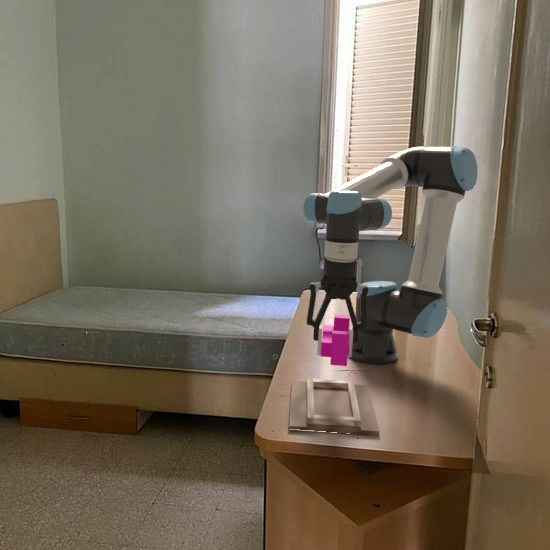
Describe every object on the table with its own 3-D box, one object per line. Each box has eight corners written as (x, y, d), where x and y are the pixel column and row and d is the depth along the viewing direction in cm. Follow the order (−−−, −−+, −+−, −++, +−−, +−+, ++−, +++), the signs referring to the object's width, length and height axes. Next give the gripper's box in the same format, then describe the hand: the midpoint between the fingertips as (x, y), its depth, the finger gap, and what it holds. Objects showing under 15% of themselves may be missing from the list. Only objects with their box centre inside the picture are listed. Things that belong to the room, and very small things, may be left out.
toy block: (323, 341, 136) (324, 313, 135) (347, 343, 135) (349, 315, 134) (319, 363, 122) (321, 332, 120) (346, 366, 121) (349, 334, 119)
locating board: (367, 389, 142) (368, 379, 141) (379, 436, 119) (380, 425, 118) (292, 385, 143) (292, 375, 142) (288, 430, 120) (289, 419, 119)
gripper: (297, 260, 119) (292, 357, 124) (385, 264, 118) (377, 362, 123) (298, 254, 126) (293, 346, 132) (381, 258, 125) (373, 350, 131)
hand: (334, 353), depth 127 cm, fingers closed on toy block, 6 cm apart
